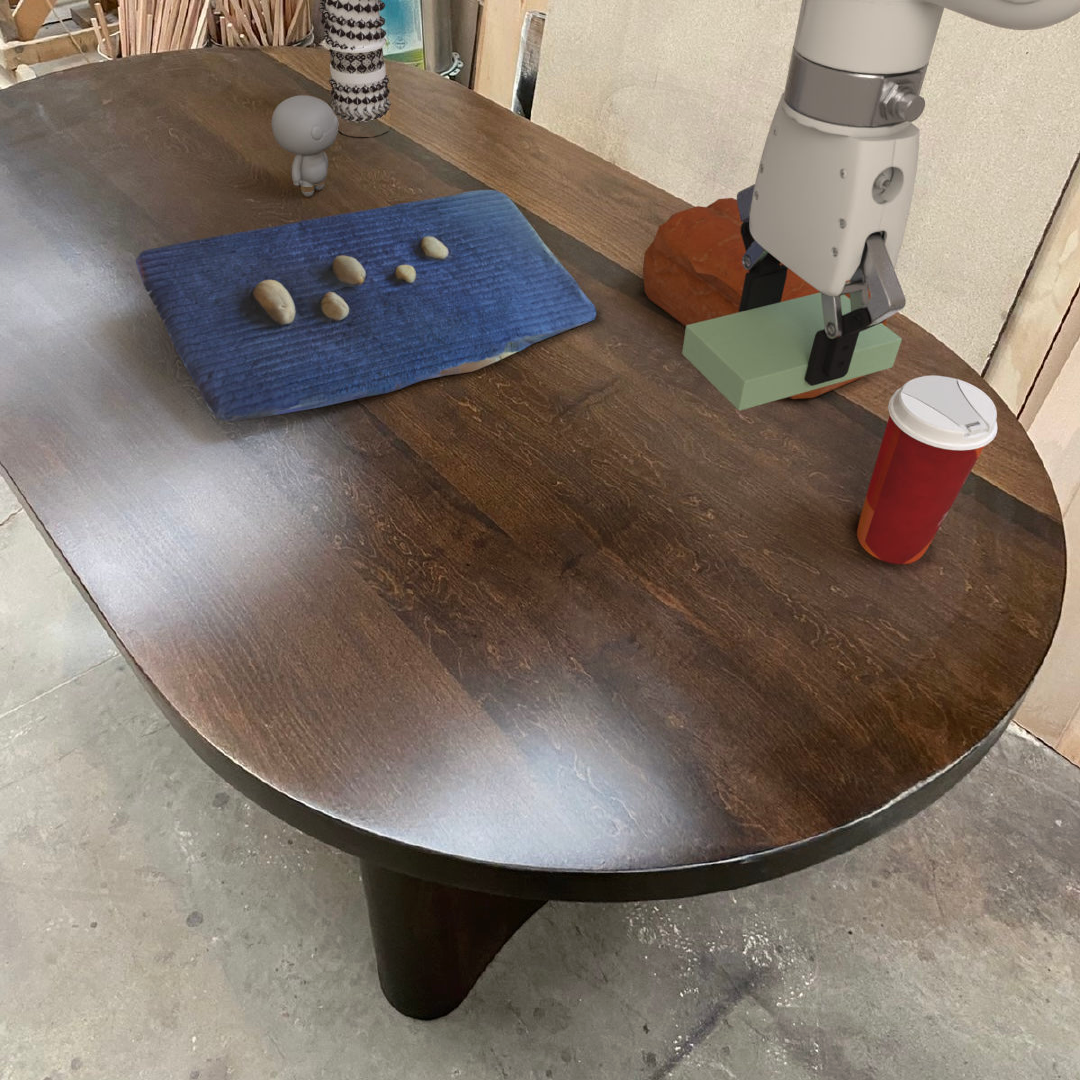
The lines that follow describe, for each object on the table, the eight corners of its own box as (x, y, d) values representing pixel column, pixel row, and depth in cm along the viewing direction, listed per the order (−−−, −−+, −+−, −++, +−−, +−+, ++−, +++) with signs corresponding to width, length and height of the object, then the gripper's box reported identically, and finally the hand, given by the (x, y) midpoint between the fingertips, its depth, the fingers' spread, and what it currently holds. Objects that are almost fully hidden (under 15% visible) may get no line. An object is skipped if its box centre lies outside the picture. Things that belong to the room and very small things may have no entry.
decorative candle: (330, 139, 140) (306, -57, 123) (333, 114, 147) (312, -76, 129) (393, 139, 141) (379, -56, 124) (394, 114, 148) (381, -74, 130)
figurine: (320, 211, 124) (308, 117, 116) (272, 198, 126) (256, 104, 118) (355, 187, 129) (345, 95, 121) (308, 175, 132) (296, 84, 123)
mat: (473, 235, 126) (491, 160, 117) (587, 384, 116) (617, 314, 107) (125, 312, 105) (113, 228, 95) (229, 502, 95) (227, 429, 86)
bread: (725, 260, 119) (741, 176, 112) (890, 367, 104) (921, 278, 96) (626, 293, 113) (635, 206, 105) (785, 412, 97) (810, 321, 90)
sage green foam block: (828, 316, 73) (836, 288, 71) (892, 367, 68) (902, 338, 66) (681, 354, 69) (685, 324, 67) (738, 411, 64) (745, 381, 62)
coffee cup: (959, 560, 83) (1027, 422, 72) (880, 584, 81) (939, 444, 70) (899, 498, 88) (955, 361, 78) (824, 519, 86) (871, 380, 75)
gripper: (1012, 132, 51) (914, 403, 63) (814, 33, 62) (763, 280, 75) (901, 154, 49) (821, 431, 61) (715, 47, 60) (680, 300, 72)
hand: (790, 347), depth 68 cm, fingers closed on sage green foam block, 7 cm apart
